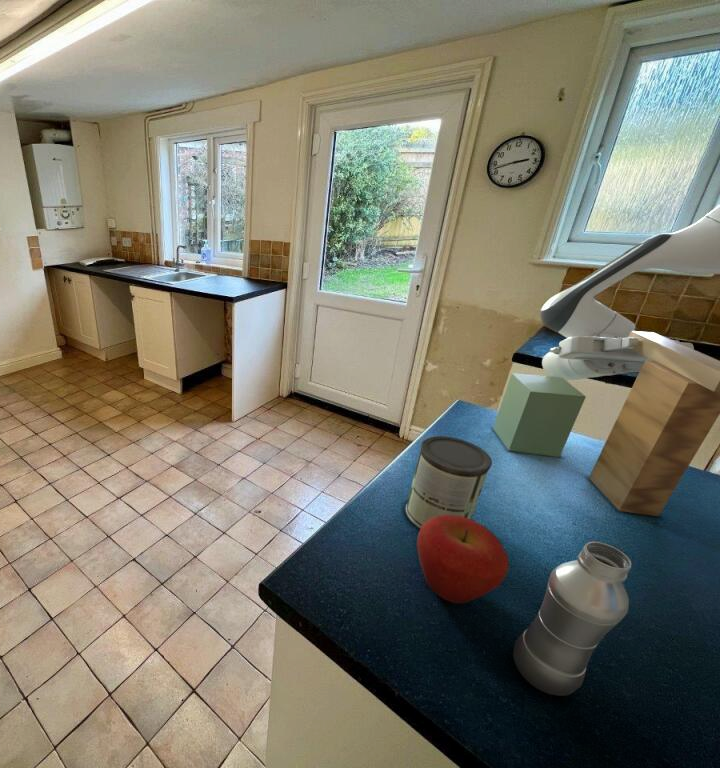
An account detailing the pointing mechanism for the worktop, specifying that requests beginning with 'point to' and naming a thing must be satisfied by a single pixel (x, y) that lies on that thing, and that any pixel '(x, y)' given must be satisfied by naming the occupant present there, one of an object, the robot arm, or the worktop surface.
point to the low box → (537, 414)
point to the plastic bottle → (573, 619)
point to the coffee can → (447, 479)
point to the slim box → (679, 359)
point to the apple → (460, 558)
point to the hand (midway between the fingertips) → (653, 343)
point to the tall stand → (654, 439)
